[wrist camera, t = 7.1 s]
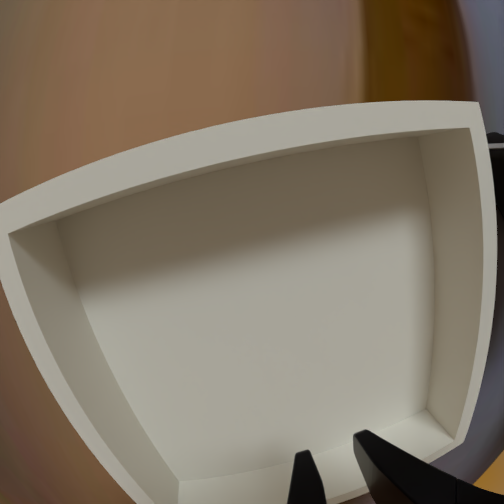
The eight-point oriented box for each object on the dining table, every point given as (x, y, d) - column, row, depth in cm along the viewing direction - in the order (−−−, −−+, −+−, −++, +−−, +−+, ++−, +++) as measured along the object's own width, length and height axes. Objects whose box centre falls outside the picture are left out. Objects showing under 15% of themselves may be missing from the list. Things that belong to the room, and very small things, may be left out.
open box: (428, 404, 17) (463, 442, 12) (171, 479, 15) (167, 532, 11) (416, 117, 12) (478, 102, 8) (44, 203, 11) (-18, 213, 7)
